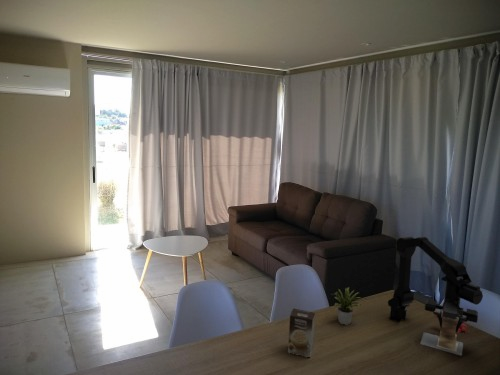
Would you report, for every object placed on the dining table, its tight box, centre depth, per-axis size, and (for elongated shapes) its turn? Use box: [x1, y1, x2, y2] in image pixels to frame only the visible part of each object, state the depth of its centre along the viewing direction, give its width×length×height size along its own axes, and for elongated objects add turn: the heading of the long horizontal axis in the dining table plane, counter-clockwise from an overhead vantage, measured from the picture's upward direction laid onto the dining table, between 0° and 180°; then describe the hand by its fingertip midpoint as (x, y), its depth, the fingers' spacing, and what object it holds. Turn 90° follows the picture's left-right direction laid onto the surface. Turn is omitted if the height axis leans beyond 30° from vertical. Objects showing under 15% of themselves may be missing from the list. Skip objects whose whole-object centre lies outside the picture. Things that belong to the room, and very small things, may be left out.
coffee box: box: [287, 308, 316, 358], centre depth 149 cm, size 9×6×16 cm
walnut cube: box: [440, 317, 458, 337], centre depth 155 cm, size 5×5×5 cm
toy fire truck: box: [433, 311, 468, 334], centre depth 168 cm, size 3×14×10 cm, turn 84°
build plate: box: [419, 332, 464, 356], centre depth 157 cm, size 15×11×1 cm
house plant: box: [331, 286, 364, 326], centre depth 173 cm, size 14×14×16 cm
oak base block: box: [438, 331, 458, 350], centre depth 156 cm, size 6×6×4 cm
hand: (448, 330), depth 155 cm, fingers closed on walnut cube, 5 cm apart
